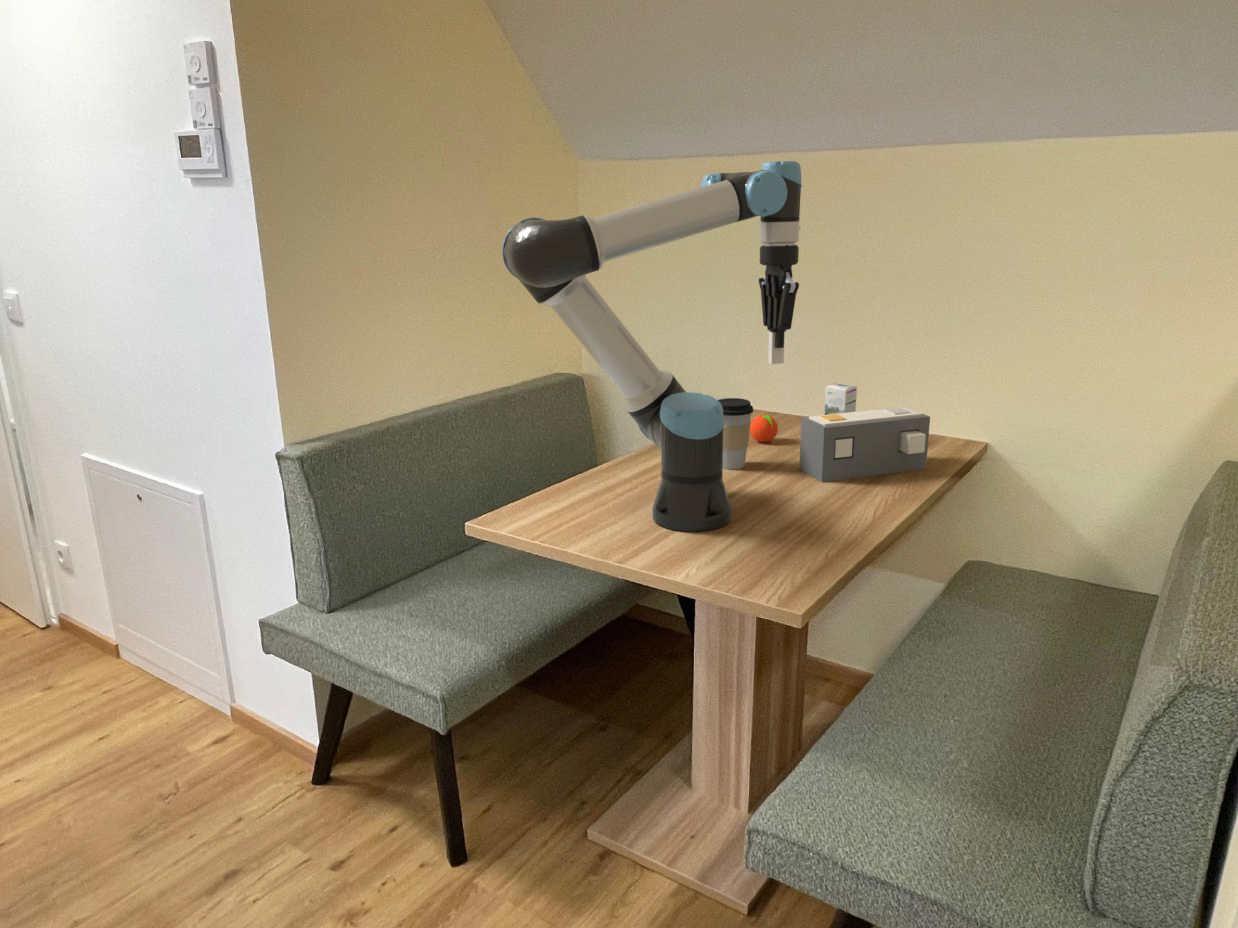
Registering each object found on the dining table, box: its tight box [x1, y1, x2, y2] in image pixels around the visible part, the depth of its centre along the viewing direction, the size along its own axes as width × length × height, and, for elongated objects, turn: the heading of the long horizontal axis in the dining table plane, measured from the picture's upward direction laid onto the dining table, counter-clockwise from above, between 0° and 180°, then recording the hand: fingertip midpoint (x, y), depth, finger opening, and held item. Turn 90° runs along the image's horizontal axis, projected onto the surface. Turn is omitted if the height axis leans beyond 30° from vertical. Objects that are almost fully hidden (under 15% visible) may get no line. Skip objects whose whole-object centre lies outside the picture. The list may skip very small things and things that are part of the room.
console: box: [798, 406, 931, 483], centre depth 196 cm, size 10×26×13 cm, turn 107°
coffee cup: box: [717, 397, 755, 470], centre depth 200 cm, size 9×9×15 cm
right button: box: [899, 430, 926, 454], centre depth 193 cm, size 6×4×4 cm
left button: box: [834, 437, 853, 458], centre depth 191 cm, size 6×4×4 cm
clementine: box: [749, 413, 779, 443], centre depth 219 cm, size 8×7×7 cm
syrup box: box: [823, 382, 858, 415], centre depth 216 cm, size 6×6×14 cm
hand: (775, 363), depth 180 cm, fingers closed
